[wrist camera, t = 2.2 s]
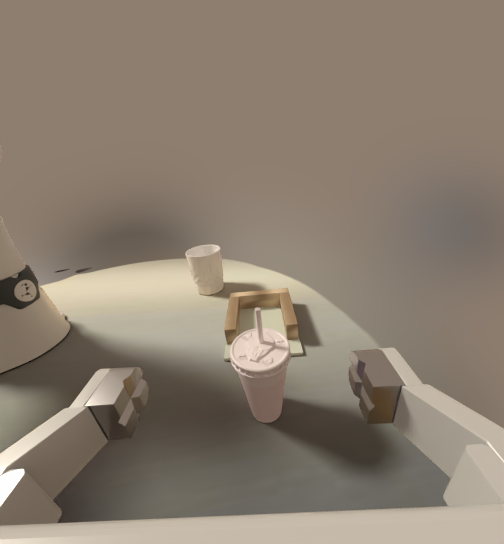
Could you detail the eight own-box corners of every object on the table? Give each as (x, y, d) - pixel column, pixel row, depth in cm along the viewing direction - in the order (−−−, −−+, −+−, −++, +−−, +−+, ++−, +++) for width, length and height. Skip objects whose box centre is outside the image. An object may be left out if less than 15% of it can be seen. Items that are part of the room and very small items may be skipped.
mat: (224, 360, 36) (224, 358, 36) (232, 303, 51) (231, 301, 50) (303, 355, 36) (303, 352, 35) (288, 299, 50) (288, 297, 50)
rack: (227, 344, 39) (224, 330, 37) (232, 305, 49) (230, 293, 48) (298, 339, 38) (297, 324, 37) (288, 300, 49) (287, 288, 47)
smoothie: (297, 391, 30) (295, 298, 24) (287, 443, 25) (280, 339, 19) (250, 380, 32) (238, 292, 27) (231, 426, 27) (210, 328, 21)
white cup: (187, 293, 57) (178, 255, 53) (207, 279, 63) (200, 243, 59) (214, 299, 53) (206, 258, 49) (232, 283, 60) (226, 245, 55)
